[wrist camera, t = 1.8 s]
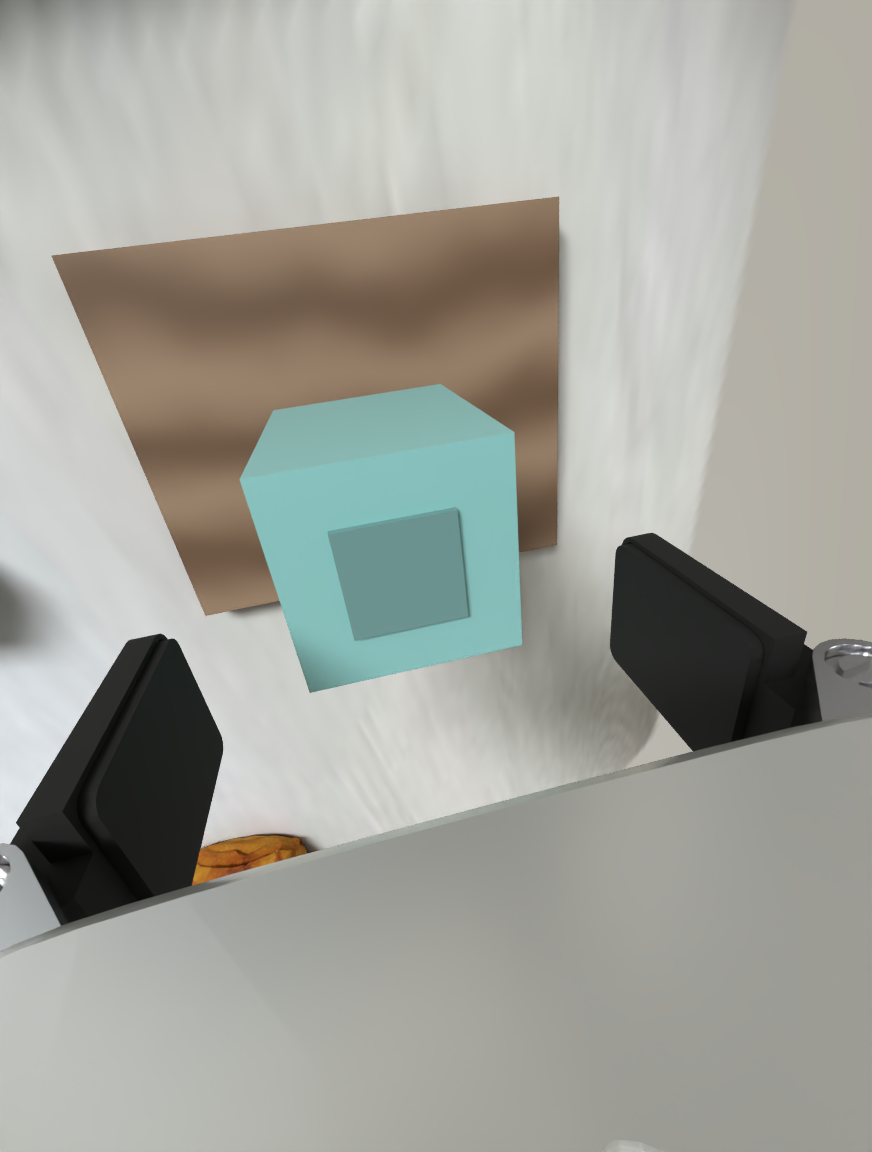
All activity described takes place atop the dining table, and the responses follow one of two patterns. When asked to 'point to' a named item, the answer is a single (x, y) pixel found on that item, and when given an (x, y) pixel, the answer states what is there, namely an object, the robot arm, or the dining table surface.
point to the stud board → (319, 353)
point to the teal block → (388, 531)
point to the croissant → (244, 855)
